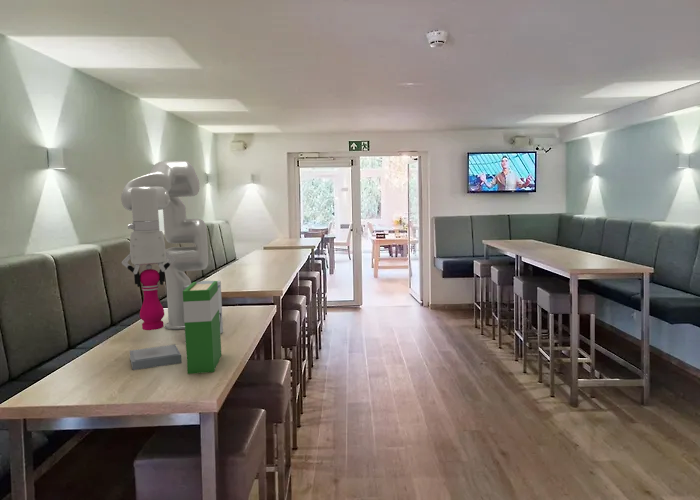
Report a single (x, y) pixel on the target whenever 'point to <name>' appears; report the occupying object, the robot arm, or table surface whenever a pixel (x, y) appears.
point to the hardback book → (202, 327)
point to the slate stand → (154, 357)
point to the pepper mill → (151, 300)
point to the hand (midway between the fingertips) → (150, 284)
